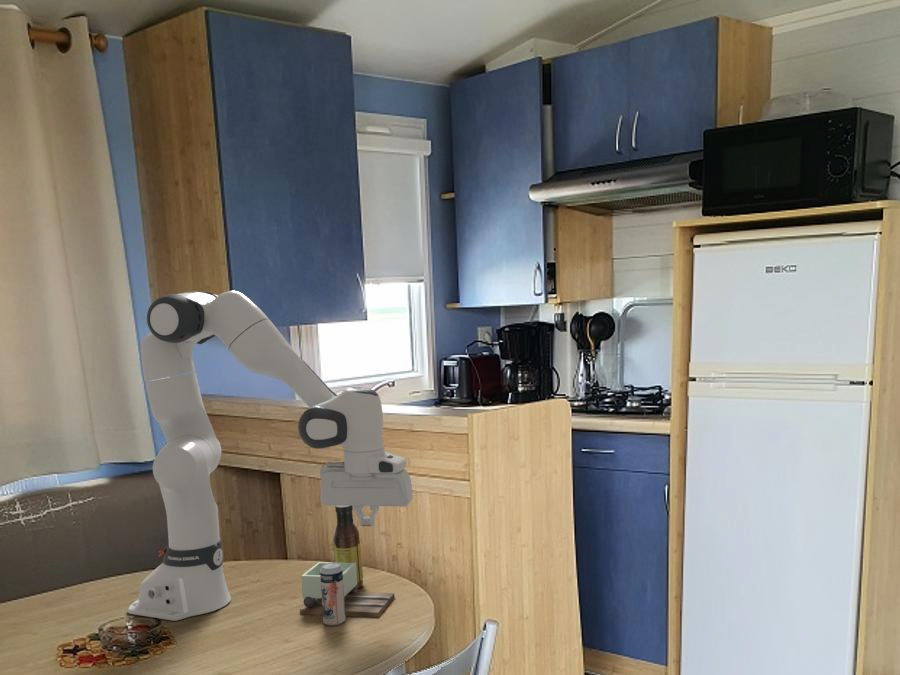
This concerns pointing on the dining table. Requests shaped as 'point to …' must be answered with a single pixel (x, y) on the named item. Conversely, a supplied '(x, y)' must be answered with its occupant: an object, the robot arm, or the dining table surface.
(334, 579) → the beer can
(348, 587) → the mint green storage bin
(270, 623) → the dining table surface
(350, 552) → the sauce bottle
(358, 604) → the walnut track
